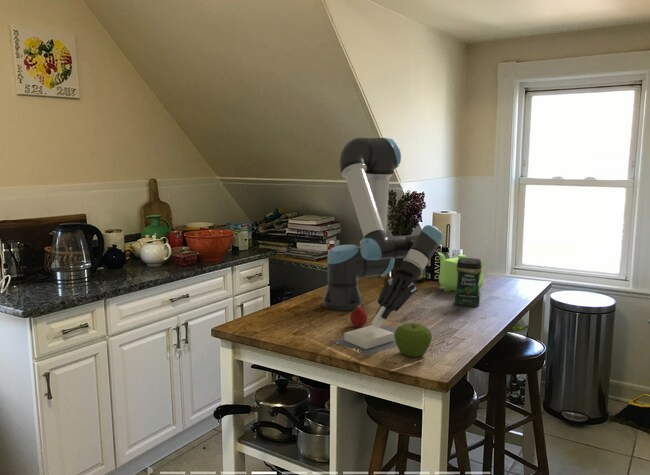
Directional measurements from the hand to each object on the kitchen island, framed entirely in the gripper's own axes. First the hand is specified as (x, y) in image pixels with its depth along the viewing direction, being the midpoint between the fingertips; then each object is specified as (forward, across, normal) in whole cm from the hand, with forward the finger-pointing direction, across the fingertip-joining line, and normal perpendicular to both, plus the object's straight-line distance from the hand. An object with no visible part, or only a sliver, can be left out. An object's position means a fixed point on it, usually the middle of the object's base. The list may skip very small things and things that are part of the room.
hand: (375, 325), depth 171 cm
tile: (0, 0, -5) cm, 5 cm away
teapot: (-49, +24, -58) cm, 80 cm away
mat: (+4, 0, -4) cm, 5 cm away
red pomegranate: (0, +13, -8) cm, 15 cm away
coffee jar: (-37, +8, -46) cm, 59 cm away
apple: (+4, -15, -4) cm, 16 cm away
